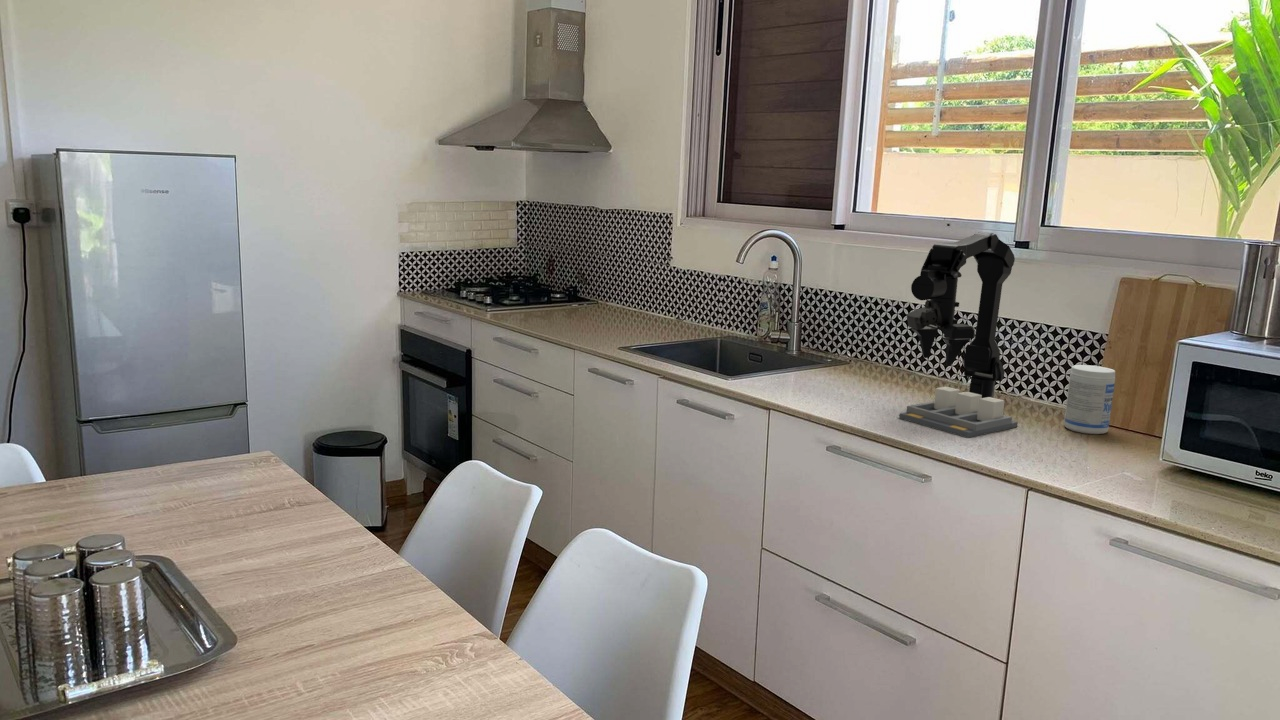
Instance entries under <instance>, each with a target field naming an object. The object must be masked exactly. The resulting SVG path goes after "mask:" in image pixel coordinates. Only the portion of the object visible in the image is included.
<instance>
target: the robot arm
mask: <svg viewBox="0 0 1280 720" xmlns="http://www.w3.org/2000/svg"><path fill="white" fill-rule="evenodd" d="M972 257H973V258H974V260H975V262H976V264H977V265H976V266H977V269H976V271H977V274H978V277H979V278H980V280H981V289H980V297H979V304H978V314H977V320H976V327H975V328H974V327H973V326H972V325H970V324H969V325H968V324H965V323H958V319H956V318H955V310H956V308H959V307H960V302H958V301H957V293H958V291H957V290H958V282H959V279H958V278H961V277H962V273H961V272H960V269H961V268H963V266H964V265H966V264H967V259H969V258H972ZM1014 265H1015V254H1014V253H1013V250H1012V249H1011V247H1010V246H1009V245H1008V244H1006V243H1005V242H1004V241H1002V240H1000V238H999V236H998V234H996V233H994V232H983V231H978V232H975V233H974V234H972V235H970V236H968V237H965V238H962V239H960V240H957V241H956V242H935V244H933V245H932V247H931V248H930V250H929V251H928V254H927V255H926V258H925V260H924V262H923V265H922V267H921V270H920V275H918V276H917V277H915V278H914V280H913V281H912V283H911V284H910V285H911V286H910V288H911V289H910V290H911V293H912V295H913V296H914V298H915V299H917V300H919V301H925V302H924V306H923V307H920V308H917V309H915V310H913V311H910V312H908V313H906V314H905V315H906V320H907V326H908V327H909V328H910V330H912V331H913V332H914V333H915V334H916V335H917V337H918V340H919V344H920V348H921V352H922V357H923V358H924V359H928V358H929V356H930V354H931V352H932V348H933V346H934V345H933V344H934V342H935V338H936V335H937V332H938V331H942V334H943V336H944V337H943V336H942V340H943V341H944V343H945V344H946V346H945V348H946V349H945V350H946V351H945V362H946V363H945V364H946V366H948V367H951V366H952V365H953V363H954V362H955V360H956V359H957V357H958V356H959V354H960V352H961V351H962V350H963V348H964V347H965V351H964V352H965V354H964V356H963V362H962V364H963V374H964V375H963V376H965V377H970V382H969V383H970V384H969V389H968V392H971V393H975V394H979V395H982V398H986V397H992V398H995V389H996V382H1002V381H1003V380H1004V377H1005V369H1004V366H1003V363H1002V361H1001V359H1000V357H1001V351H1000V348H999V346H998V344H997V342H996V334H997V327H998V326H997V325H998V319H999V313H1000V311H999V310H1000V306H1001V299H1002V298H1001V297H1002V292H1003V291H1002V290H1003V284H1004V282H1006V280H1007V279H1008V277H1009V276H1011V273H1012V271H1013V270H1012V269H1013V266H1014ZM971 339H973V340H972V341H971ZM967 342H970V343H968V344H967ZM966 344H967V345H966Z"/></svg>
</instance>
